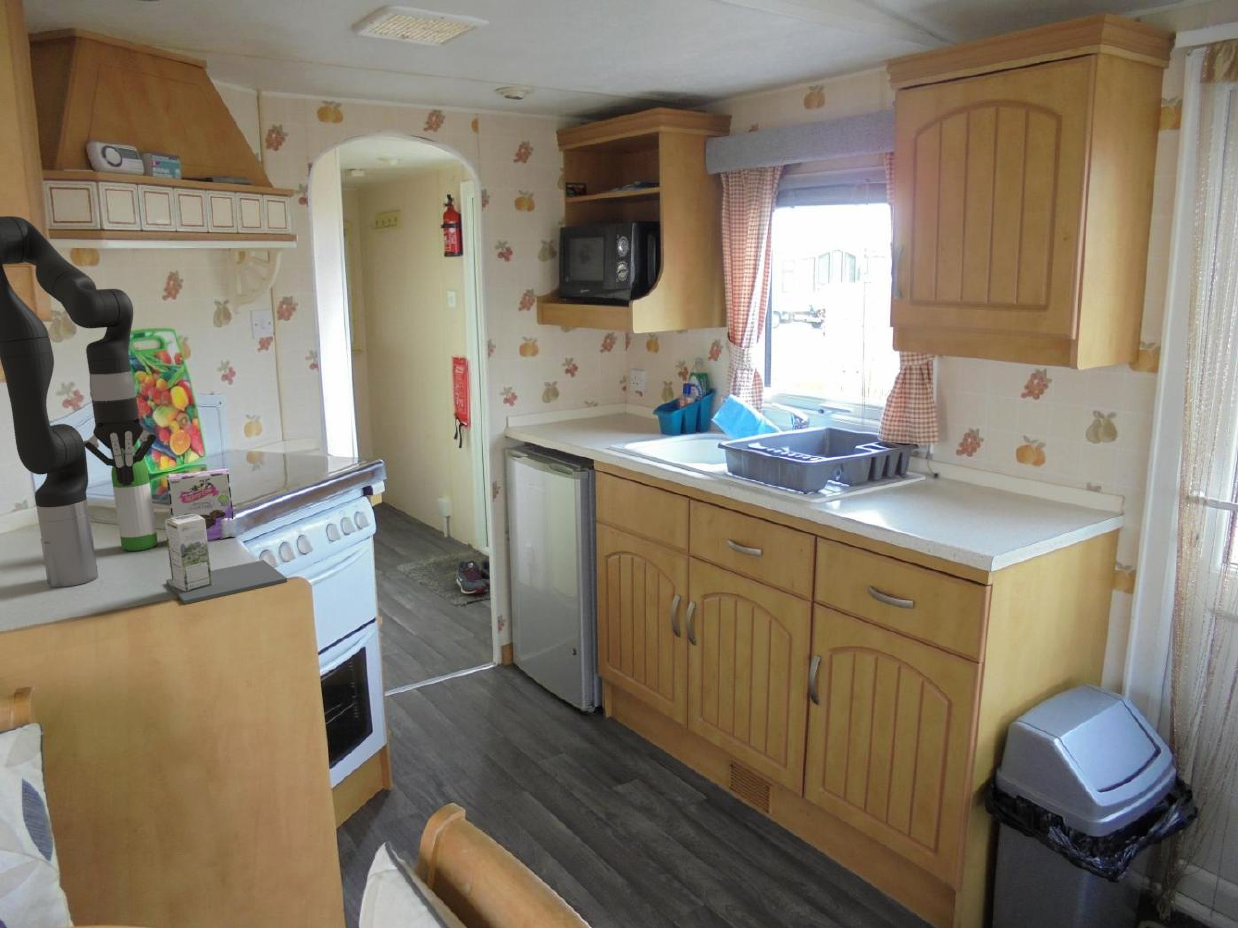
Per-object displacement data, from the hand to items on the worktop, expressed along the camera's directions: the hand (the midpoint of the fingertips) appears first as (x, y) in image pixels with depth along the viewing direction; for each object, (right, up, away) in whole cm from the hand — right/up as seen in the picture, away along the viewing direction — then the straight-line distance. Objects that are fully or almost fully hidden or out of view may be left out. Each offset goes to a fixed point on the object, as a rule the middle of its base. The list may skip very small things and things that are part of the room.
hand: (126, 484), depth 182 cm
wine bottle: (-18, -16, +41) cm, 48 cm away
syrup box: (+8, -21, +10) cm, 25 cm away
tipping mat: (+13, -21, +14) cm, 29 cm away
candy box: (-5, -14, +47) cm, 50 cm away
